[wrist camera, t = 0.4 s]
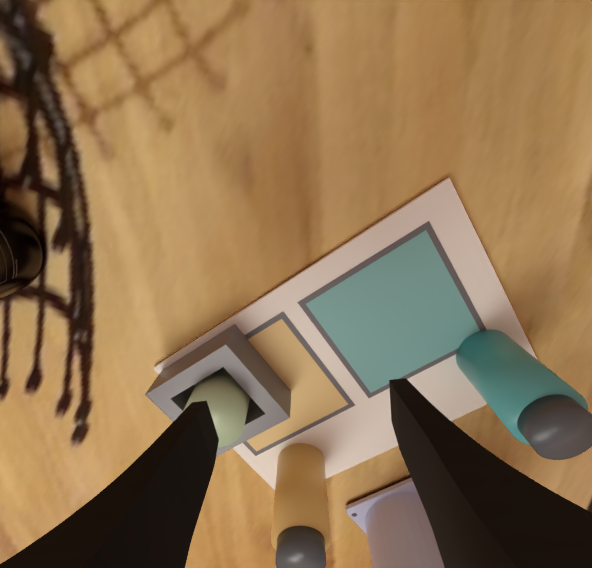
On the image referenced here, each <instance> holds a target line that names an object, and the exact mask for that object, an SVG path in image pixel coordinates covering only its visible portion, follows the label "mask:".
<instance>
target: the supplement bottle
mask: <svg viewBox="0 0 592 568" xmlns="http://www.w3.org/2000/svg"><path fill="white" fill-rule="evenodd" d="M42 262H43V249H42V244H41V241H40V238H39V236H38V234H37V232H36V230H35V228H34V226H33V225H32V223H31V222H30V221H29V219H28V218H27V217H26V216H25V215H24V214H23V213H22V212H21V211H20V210H19V209H18V208H17V207H16V206H14V205H13V204H11V203H10V202H9V201H7V200H5V199H4V198H2V197H0V298H2V297H5V296H7V295H9V294H12V293H14V292H16V291H18V290H21V289H22V288H24V287H26V286H28V285H29V284H30V283H32V282H33V281H34V280H35V278H36V277H37V276H38V274H39V272H40V270H41V267H42Z"/></svg>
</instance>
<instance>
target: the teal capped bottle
mask: <svg viewBox="0 0 592 568" xmlns="http://www.w3.org/2000/svg"><path fill="white" fill-rule="evenodd" d="M456 362H457V365H458V367H459V369H460V370H461V371H462V372H463V374H464V375H465V376H466V377H467V379H468V380H469V381H470V382H471V384H472V385H473V386H474V387H475V389H476V390H477V391H478V392H479V394H480V395H481V396H482V397H483V399H484V400H485V401H486V402H487V404H488V405H489V406H490V407H491V409H492V410H493V411H494V413H495V414H496V415H497V416H498V418H499V419H500V420H501V421H502V423H503V424H504V425H505V426H506V428H507V429H508V430H509V431H510V433H511V434H512V435H513V436H514V437H515V438H516V439H517V440H518V441H520V442H522V443H524V444H528V445H531V446H532V447H533V449H534V450H535V451H536V452H537V453H538V454H539V455H540V456H542V457H544V458H547V459H552V460H562V459H568V458H572V457H575V456H577V455H579V454H581V453H583V452H585V451H586V450H588V449H589V448H590V447H591V446H592V414H591V413H589V412H588V407H587V403H586V400H585V399H584V397H583V396H582V395H580V394H579V393H578V392H577V391H576V390H574V389H573V388H572V387H571V386H569V385H568V384H567V383H566V382H564V381H563V380H562V379H561V378H559V377H558V376H557V375H556V374H554V373H553V372H552V371H551V370H550V369H548V368H547V367H546V366H545V365H543V364H542V363H541V362H540V361H538V360H537V359H536V358H535V357H533V356H532V355H531V354H530V353H528V352H527V351H526V350H525V349H524V348H522V347H521V346H520V345H519V344H517V343H516V342H515V341H514V340H512V339H511V338H510V337H509V336H507V335H506V334H505V333H503V332H501V331H498V330H483V331H479V332H476V333H474V334H472V335H471V336H469V337H468V338H466V339H465V340H464V341H463V342H462V343H461V345H460V346H459V348H458V350H457V354H456Z"/></svg>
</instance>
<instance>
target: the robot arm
mask: <svg viewBox="0 0 592 568" xmlns="http://www.w3.org/2000/svg"><path fill="white" fill-rule="evenodd" d="M389 387H390V404H391V421H392V425H393V429H394V432H395V435H396V439H397V442H398V445H399V449H400V451H401V454H402V456H403V458H404V461H405V463H406V466H407V468H408V471H409V473H410V475H411V478H409V479H406V480H404V481H402V482H399V483H397V484H395V485H392V486H390V487H388V488H385V489H383V490H381V491H378V492H376V493H374V494H372V495H369V496H367V497H365V498H362V499H360V500H358V501H355V502H353V503H351V504H348V505H347V506H346V513H347V514H348V515H349V516H350V517H351V518H352V519H353V521H354V522H355V523H356V524H357V525H358V526H359V527H360V528H361V529H362V530H363V531H364V533H365V534H366V535H367V538H368V544H369V549H370V555H371V561H372V566H373V568H592V513H591V512H589V511H587V510H585V509H583V508H582V507H580V506H578V505H576V504H574V503H572V502H571V501H569V500H567V499H565V498H563V497H561V496H560V495H558V494H556V493H554V492H552V491H551V490H549V489H547V488H545V487H544V486H542V485H540V484H539V483H537V482H535V481H534V480H532V479H531V478H529V477H527V476H526V475H524V474H522V473H521V472H519V471H518V470H516V469H514V468H513V467H511V466H510V465H508V464H507V463H505V462H504V461H502V460H501V459H499V458H498V457H496V456H495V455H494V454H492V453H491V452H489V451H488V450H487V449H485V448H484V447H482V446H481V445H480V444H478V443H477V442H476V441H475V440H473V439H472V438H471V437H469V436H468V435H467V434H466V433H465V432H463V431H462V430H461V429H460V428H458V427H457V426H456V425H455V424H454V423H453V422H451V421H450V420H449V419H448V418H447V417H446V416H445V415H443V414H442V413H441V412H440V411H439V410H438V409H437V408H436V407H435V406H434V405H432V404H431V403H430V402H429V401H428V400H427V399H426V398H425V397H424V396H423V395H422V394H421V393H420V392H419V391H418V390H417V389H416V388H415V387H414V386H413V385H412V384H411V383H410V382H409V381H408V380H407V379H406V378H402V379H393V380H389ZM218 443H219V438H218V435H217V432H216V428H215V425H214V422H213V419H212V416H211V413H210V409H209V406H208V403H207V401H199V402H192V403H191V404H190V405H189V406H188V407H187V408H186V409H185V410H184V411H183V412H182V413H181V414H180V415H179V416H178V417H177V419H176V420H175V421H174V422H173V423H172V424H171V425H170V426H169V427H168V428H167V429H166V430H165V431H164V432H163V433H162V435H161V436H160V437H159V438H158V439H157V440H156V441H155V442H154V443H153V444H152V445H151V446H150V447H149V448H148V449H147V450H146V451H145V452H144V453H143V454H142V455H141V456H140V457H139V458H138V459H137V460H136V461H135V462H134V463H133V464H132V465H131V466H130V467H129V468H128V469H126V470H125V471H124V472H123V473H122V474H121V475H120V476H119V477H118V478H117V479H115V480H114V481H113V482H112V483H111V484H110V485H108V486H107V487H106V488H105V489H104V490H103V491H101V492H100V493H99V494H98V495H97V496H95V497H94V498H93V499H92V500H90V501H89V502H88V503H87V504H85V505H84V506H83V507H81V508H80V509H79V510H77V511H76V512H75V513H74V514H72V515H71V516H70V517H68V518H67V519H66V520H65V521H63V522H62V523H61V524H59V525H58V526H56V527H55V528H54V529H52V530H51V531H49V532H48V533H47V534H45V535H44V536H42V537H41V538H39V539H38V540H36V541H35V542H34V543H32V544H31V545H29V546H28V547H26V548H25V549H23V550H22V551H20V552H19V553H17V554H16V555H14V556H13V557H11V558H10V559H8V560H6V561H5V562H3V563H2V564H0V568H185V565H186V560H187V556H188V551H189V547H190V543H191V540H192V536H193V532H194V529H195V526H196V523H197V520H198V516H199V513H200V510H201V507H202V504H203V501H204V497H205V494H206V491H207V488H208V485H209V481H210V478H211V475H212V472H213V468H214V464H215V459H216V454H217V448H218Z"/></svg>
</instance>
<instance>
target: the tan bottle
mask: <svg viewBox="0 0 592 568" xmlns="http://www.w3.org/2000/svg"><path fill="white" fill-rule="evenodd" d="M271 543H272V546H273V548H274V549H275V550H276V566H277V568H325V567H326V551H327V550H328V548H329V546H330V544H331V537H330V524H329V512H328V499H327V487H326V474H325V462H324V456H323V454H322V452H321V451H320V450H319V449H318V448H316V447H314V446H312V445H309V444H304V443H297V444H292V445H289V446H287V447H285V448H284V449H283V450H282V451H281V452H280V453H279V455H278V461H277V473H276V485H275V498H274V510H273V522H272V534H271Z"/></svg>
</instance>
